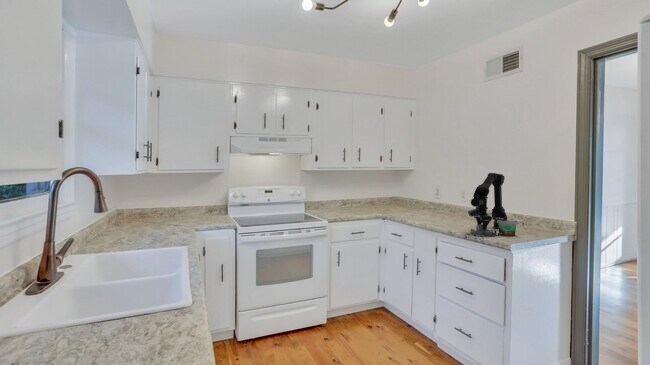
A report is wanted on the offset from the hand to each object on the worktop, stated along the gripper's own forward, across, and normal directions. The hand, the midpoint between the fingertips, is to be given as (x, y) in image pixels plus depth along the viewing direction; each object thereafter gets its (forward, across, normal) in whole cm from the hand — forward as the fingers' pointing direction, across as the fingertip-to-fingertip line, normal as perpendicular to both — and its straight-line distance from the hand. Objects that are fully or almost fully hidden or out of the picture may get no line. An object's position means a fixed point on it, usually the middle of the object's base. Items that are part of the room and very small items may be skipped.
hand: (481, 228), depth 210 cm
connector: (+4, 0, 0) cm, 4 cm away
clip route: (+3, +4, +4) cm, 6 cm away
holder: (+4, 0, 0) cm, 4 cm away
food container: (+4, +4, +15) cm, 16 cm away
